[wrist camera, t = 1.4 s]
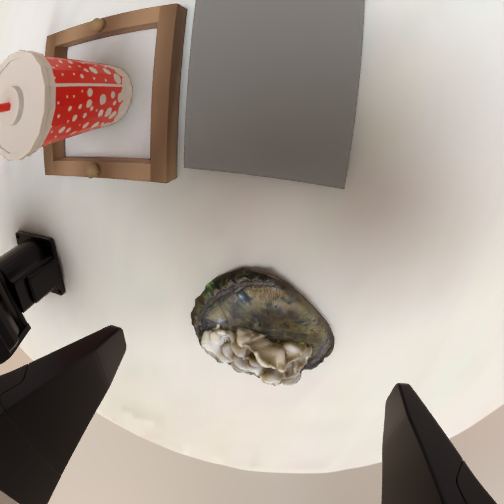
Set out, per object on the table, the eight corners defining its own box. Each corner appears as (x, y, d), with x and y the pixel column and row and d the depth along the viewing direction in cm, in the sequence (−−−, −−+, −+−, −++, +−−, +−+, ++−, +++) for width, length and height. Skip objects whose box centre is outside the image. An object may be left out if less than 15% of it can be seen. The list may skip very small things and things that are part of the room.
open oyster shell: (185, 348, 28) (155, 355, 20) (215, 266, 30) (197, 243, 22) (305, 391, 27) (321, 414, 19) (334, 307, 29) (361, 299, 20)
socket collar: (57, 170, 22) (40, 176, 21) (59, 37, 17) (41, 35, 15) (176, 177, 21) (162, 185, 19) (186, 9, 15) (173, 0, 13)
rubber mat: (189, 164, 20) (183, 167, 19) (205, -28, 14) (200, -34, 13) (343, 185, 18) (344, 189, 18) (363, -22, 12) (365, -28, 11)
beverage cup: (75, 71, 18) (-83, 90, 6) (137, 45, 17) (-43, 30, 5) (84, 142, 21) (-71, 200, 9) (146, 125, 19) (-35, 177, 7)
